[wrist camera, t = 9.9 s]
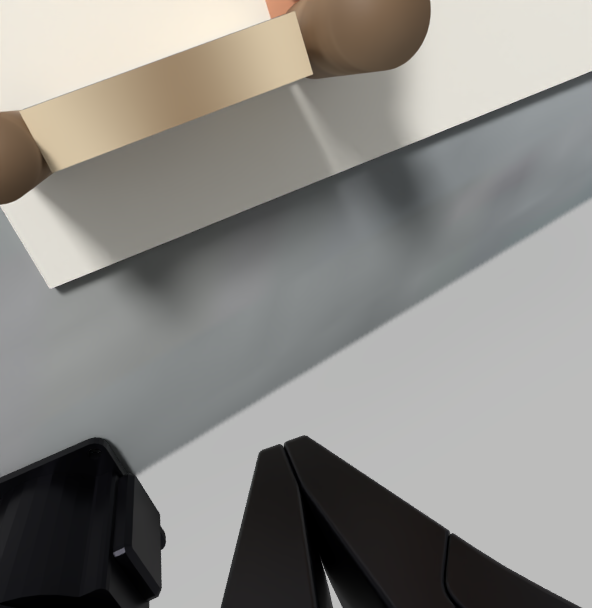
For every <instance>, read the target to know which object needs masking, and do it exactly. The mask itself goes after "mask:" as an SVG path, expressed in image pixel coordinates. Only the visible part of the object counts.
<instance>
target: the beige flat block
mask: <svg viewBox="0 0 592 608" xmlns="http://www.w3.org/2000/svg"><path fill="white" fill-rule="evenodd" d="M312 74H313V72H312V69H311V65H310V62H309V58H308V55H307V51H306V48H305V45H304V41H303V38H302V34H301V31H300V27H299V24H298V20H297V17H296V14H295V11H293V12H291V13H288V14H285V15H282V16H280V17H277V18H274V19H271V20H269V21H266V22H263V23H260V24H258V25H255V26H252V27H249V28H247V29H244V30H241V31H238V32H236V33H233V34H230V35H227V36H225V37H222V38H219V39H216V40H214V41H211V42H208V43H205V44H203V45H200V46H197V47H194V48H192V49H189V50H186V51H183V52H181V53H178V54H175V55H172V56H170V57H167V58H164V59H161V60H159V61H156V62H153V63H150V64H148V65H145V66H142V67H139V68H137V69H134V70H131V71H129V72H126V73H123V74H120V75H118V76H115V77H112V78H109V79H107V80H104V81H101V82H98V83H96V84H93V85H90V86H87V87H85V88H82V89H79V90H76V91H74V92H71V93H68V94H65V95H63V96H60V97H57V98H54V99H52V100H49V101H46V102H43V103H41V104H38V105H35V106H32V107H30V108H27V109H24V110H15V111H3V112H0V205H3V204H8V203H11V202H14V201H16V200H18V199H19V198H21V197H22V196H24V195H25V194H26V193H28V192H29V191H30V190H32V189H33V188H34V187H36V186H37V185H38V184H40V183H41V182H42V181H44V180H45V179H46V178H47V177H49V176H50V175H51V174H53V173H54V172H56V171H59V170H62V169H64V168H67V167H70V166H72V165H75V164H78V163H80V162H83V161H85V160H88V159H91V158H93V157H96V156H99V155H101V154H104V153H107V152H109V151H112V150H114V149H117V148H120V147H122V146H125V145H128V144H130V143H133V142H136V141H138V140H141V139H143V138H146V137H149V136H151V135H154V134H157V133H159V132H162V131H165V130H167V129H170V128H173V127H175V126H178V125H180V124H183V123H186V122H188V121H191V120H194V119H196V118H199V117H202V116H204V115H207V114H209V113H212V112H215V111H217V110H220V109H223V108H225V107H228V106H231V105H233V104H236V103H238V102H241V101H244V100H246V99H249V98H252V97H254V96H257V95H260V94H262V93H265V92H268V91H270V90H273V89H275V88H278V87H281V86H283V85H286V84H289V83H291V82H294V81H297V80H299V79H302V78H304V77H307V76H310V75H312Z"/></svg>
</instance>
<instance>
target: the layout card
mask: <svg viewBox="0 0 592 608" xmlns="http://www.w3.org/2000/svg"><path fill="white" fill-rule="evenodd" d="M298 1H300V0H0V112H3V111H15V110H24V109H27V108H30V107H32V106H35V105H38V104H41V103H43V102H46V101H49V100H52V99H54V98H57V97H60V96H63V95H65V94H68V93H71V92H74V91H76V90H79V89H82V88H85V87H87V86H90V85H93V84H96V83H98V82H101V81H104V80H107V79H109V78H112V77H115V76H118V75H120V74H123V73H126V72H129V71H131V70H134V69H137V68H139V67H142V66H145V65H148V64H150V63H153V62H156V61H159V60H161V59H164V58H167V57H170V56H172V55H175V54H178V53H181V52H183V51H186V50H189V49H192V48H194V47H197V46H200V45H203V44H205V43H208V42H211V41H214V40H216V39H219V38H222V37H225V36H227V35H230V34H233V33H236V32H238V31H241V30H244V29H247V28H249V27H252V26H255V25H258V24H260V23H263V22H266V21H269V20H271V19H274V18H277V17H280V16H282V15H285V14H286V12H287V11H288V10H289V9H290V8H291V7H292V6H293V5H294V4H295V3H297V2H298ZM430 3H431V17H430V24H429V28H428V32H427V34H426V37H425V39H424V41H423V43H422V45H421V47H420V48H419V50H418V51H417V52H416V54H415V55H414V56H413V57H412V58H411V59H410V60H409V61H407V62H406V63H404V64H403V65H401V66H399V67H397V68H394V69H391V70H386V71H378V72H370V73H362V74H354V75H346V76H337V77H329V78H321V79H309V78H305V77H304V78H302V79H299V80H297V81H294V82H291V83H289V84H286V85H283V86H281V87H278V88H275V89H273V90H270V91H268V92H265V93H262V94H260V95H257V96H254V97H252V98H249V99H246V100H244V101H241V102H238V103H236V104H233V105H231V106H228V107H225V108H223V109H220V110H217V111H215V112H212V113H209V114H207V115H204V116H202V117H199V118H196V119H194V120H191V121H188V122H186V123H183V124H180V125H178V126H175V127H173V128H170V129H167V130H165V131H162V132H159V133H157V134H154V135H151V136H149V137H146V138H143V139H141V140H138V141H136V142H133V143H130V144H128V145H125V146H122V147H120V148H117V149H114V150H112V151H109V152H107V153H104V154H101V155H99V156H96V157H93V158H91V159H88V160H85V161H83V162H80V163H78V164H75V165H72V166H70V167H67V168H64V169H62V170H59V171H56V172H54V173H53V174H51V175H50V176H49V177H47V178H46V179H45V180H44V181H42V182H41V183H40V184H38V185H37V186H36V187H34V188H33V189H32V190H30V191H29V192H28V193H26V194H25V195H24V196H22V197H21V198H19V199H18V200H16V201H14V202H11V203H8V204H3V205H0V206H1V208H2V210H3V211H4V213H5V215H6V216H7V218H8V220H9V221H10V223H11V225H12V226H13V228H14V230H15V231H16V233H17V235H18V236H19V238H20V240H21V241H22V243H23V245H24V246H25V248H26V250H27V251H28V253H29V255H30V256H31V258H32V260H33V261H34V263H35V265H36V266H37V268H38V270H39V271H40V273H41V275H42V276H43V278H44V280H45V281H46V283H47V285H48V286H49V288H50V289H51V288H54V287H56V286H59V285H61V284H64V283H66V282H69V281H71V280H74V279H76V278H79V277H81V276H84V275H86V274H89V273H91V272H94V271H96V270H99V269H101V268H104V267H106V266H109V265H111V264H114V263H116V262H119V261H121V260H124V259H126V258H128V257H131V256H133V255H136V254H138V253H141V252H143V251H146V250H148V249H151V248H153V247H156V246H158V245H161V244H163V243H166V242H168V241H171V240H173V239H176V238H178V237H181V236H183V235H186V234H188V233H191V232H193V231H196V230H198V229H201V228H203V227H205V226H208V225H210V224H213V223H215V222H218V221H220V220H223V219H225V218H228V217H230V216H233V215H235V214H238V213H240V212H243V211H245V210H248V209H250V208H253V207H255V206H258V205H260V204H263V203H265V202H268V201H270V200H273V199H275V198H277V197H280V196H282V195H285V194H287V193H290V192H292V191H295V190H297V189H300V188H302V187H305V186H307V185H310V184H312V183H315V182H317V181H320V180H322V179H325V178H327V177H330V176H332V175H335V174H337V173H340V172H342V171H345V170H347V169H350V168H352V167H354V166H357V165H359V164H362V163H364V162H367V161H369V160H372V159H374V158H377V157H379V156H382V155H384V154H387V153H389V152H392V151H394V150H397V149H399V148H402V147H404V146H407V145H409V144H412V143H414V142H417V141H419V140H422V139H424V138H427V137H429V136H431V135H434V134H436V133H439V132H441V131H444V130H446V129H449V128H451V127H454V126H456V125H459V124H461V123H464V122H466V121H469V120H471V119H474V118H476V117H479V116H481V115H484V114H486V113H489V112H491V111H494V110H496V109H499V108H501V107H504V106H506V105H508V104H511V103H513V102H516V101H518V100H521V99H523V98H526V97H528V96H531V95H533V94H536V93H538V92H541V91H543V90H546V89H548V88H551V87H553V86H556V85H558V84H561V83H563V82H566V81H568V80H571V79H573V78H576V77H578V76H580V75H583V74H585V73H588V72H590V71H592V0H430Z"/></svg>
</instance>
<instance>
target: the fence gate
mask: <svg viewBox="0 0 592 608" xmlns="http://www.w3.org/2000/svg"><path fill="white" fill-rule="evenodd" d="M293 11H295V14H296V17H297V20H298V24H299V27H300V31H301V34H302V38H303V41H304V45H305V48H306V51H307V55H308V58H309V62H310V65H311V69H312V72H313V74H312V75H310V76H307V77H305V78H309V79H321V78H329V77H337V76H346V75H354V74H362V73H370V72H378V71H386V70H391V69H394V68H397V67H399V66H401V65H403V64H404V63H406V62H407V61H409V60H410V59H411V58H412V57H413V56H414V55H415V54H416V52H417V51H418V50H419V48H420V47H421V45H422V43H423V41H424V39H425V37H426V34H427V32H428V28H429V24H430V17H431V3H430V0H300V1H298V2H297V3H295V4H294V5H293V6H292V7H291V8H290V9H289V10H288V11H287V12H286V14H288V13H291V12H293Z"/></svg>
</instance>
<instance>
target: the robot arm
mask: <svg viewBox="0 0 592 608" xmlns="http://www.w3.org/2000/svg"><path fill="white" fill-rule="evenodd" d="M94 448H95V449H99V450H100V452H99V453H92V452H90V450H91V449H94ZM165 543H166V536H165V533H164V531H163V529H162V528H161V526H160V514H159V512H158V511H157V509H156V507H155V506H154V504H153V503H152V501H151V500H150V498H149V496H148V494H147V493H146V492H145V490H144V488H143V487H142V485H141V483H140V482H139V480H138V479H137V477H136V476H135V475H133V474H131V473H126V471H125V470H124V468H123V467H122V465H121V464H120V462H119V460H118V459H117V457H116V456H115V454H114V453H113V451H112V449H111V448H110V446H109V445H108V443H107V442H106V441H105V440H104V439H101V438H96V437H94V438H90V439H88V440H85V441H83V442H81V443H78V444H76V445H74V446H72V447H69V448H67V449H65V450H62V451H60V452H58V453H56V454H53V455H51V456H49V457H46V458H44V459H42V460H40V461H37V462H35V463H33V464H30V465H28V466H26V467H24V468H21V469H19V470H17V471H14V472H12V473H10V474H8V475H5V476H3V477H1V478H0V608H149V601H150V600H152V599H154V598H156V597H158V596H159V593H160V591H161V588H162V587H161V585H162V584H161V550H162V549H163V548H164V546H165ZM322 563H323V565H322ZM323 566H324V568H323ZM324 569H325V571H326V574H327V576H328V578H329V580H330V582H331V585H332V587H333V588H334V591H335V593H336V595H337V597H338V599H339V601H340V603H341V605H342V607H343V608H581V607H579V606H577V605H575V604H573V603H571V602H570V601H568V600H566V599H564V598H562V597H560V596H558V595H556V594H554V593H552V592H550V591H549V590H547V589H545V588H543V587H541V586H539V585H537V584H536V583H534V582H532V581H530V580H528V579H527V578H525V577H523V576H521V575H519V574H518V573H516V572H514V571H512V570H510V569H508V568H507V567H505V566H503V565H502V564H500V563H499V562H497V561H495V560H494V559H492V558H491V557H489V556H487V555H486V554H484V553H483V552H481V551H479V550H478V549H476V548H475V547H473V546H472V545H470V544H468V543H467V542H466V541H464V540H462V539H461V538H460V537H458V536H457V535H455V534H453V533H452V534H450V532H449V530H447V529H446V528H444V527H443V526H441V525H440V524H438V523H437V522H435V521H434V520H432V519H431V518H429V517H428V516H426V515H425V514H423V513H422V512H420V511H419V510H417V509H416V508H414V507H413V506H411V505H410V504H408V503H407V502H405V501H404V500H402V499H401V498H399V497H398V496H396V495H395V494H393V493H392V492H390V491H389V490H387V489H386V488H384V487H383V486H381V485H380V484H378V483H377V482H375V481H374V480H372V479H371V478H369V477H368V476H366V475H365V474H363V473H362V472H360V471H359V470H357V469H356V468H354V467H353V466H351V465H350V464H348V463H347V462H345V461H344V460H342V459H341V458H339V457H338V456H336V455H335V454H333V453H332V452H330V451H329V450H327V449H326V448H324V447H323V446H321V445H320V444H318V443H316V442H315V441H314V440H312V439H311V438H309V437H308V436H305V435H304V436H301V437H298V438H295V439H292V440H289V441H287V442H285V443H284V447H283V446H282V445H281V444H278V445H275V446H273V447H270V448H267V449H264V450H262V451H260V453H259V455H258V458H257V462H256V467H255V471H254V475H253V479H252V483H251V487H250V491H249V495H248V499H247V503H246V507H245V512H244V515H243V520H242V524H241V528H240V532H239V536H238V540H237V544H236V548H235V552H234V556H233V560H232V564H231V568H230V573H229V577H228V581H227V585H226V589H225V593H224V597H223V602H222V605H221V608H333V606H332V602H331V597H330V592H329V588H328V584H327V580H326V576H325V572H324Z"/></svg>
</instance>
